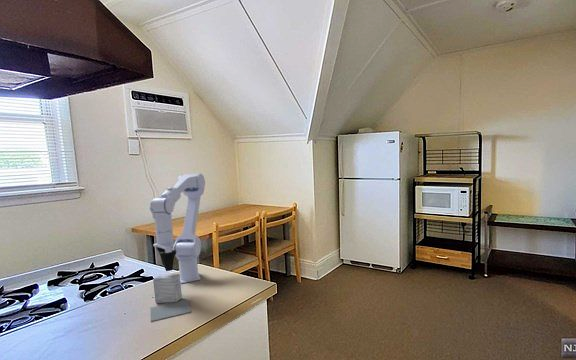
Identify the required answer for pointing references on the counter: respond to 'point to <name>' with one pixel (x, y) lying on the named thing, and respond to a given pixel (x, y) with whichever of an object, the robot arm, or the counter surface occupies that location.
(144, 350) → the counter surface
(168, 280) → the medicine box
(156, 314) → the slate mat
